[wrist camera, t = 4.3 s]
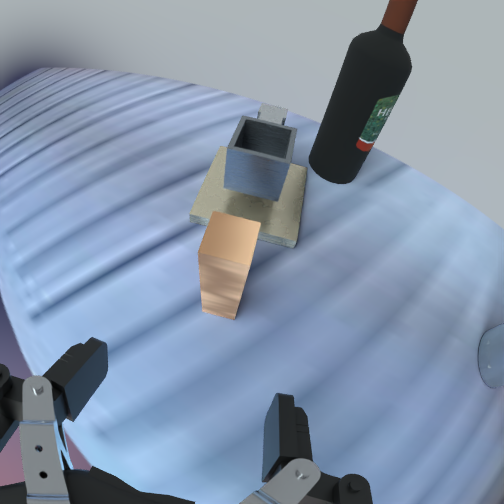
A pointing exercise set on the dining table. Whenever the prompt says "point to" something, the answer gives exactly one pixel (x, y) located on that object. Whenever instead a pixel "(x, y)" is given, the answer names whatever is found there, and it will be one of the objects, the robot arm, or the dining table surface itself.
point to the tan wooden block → (225, 262)
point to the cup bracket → (257, 178)
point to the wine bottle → (363, 96)
